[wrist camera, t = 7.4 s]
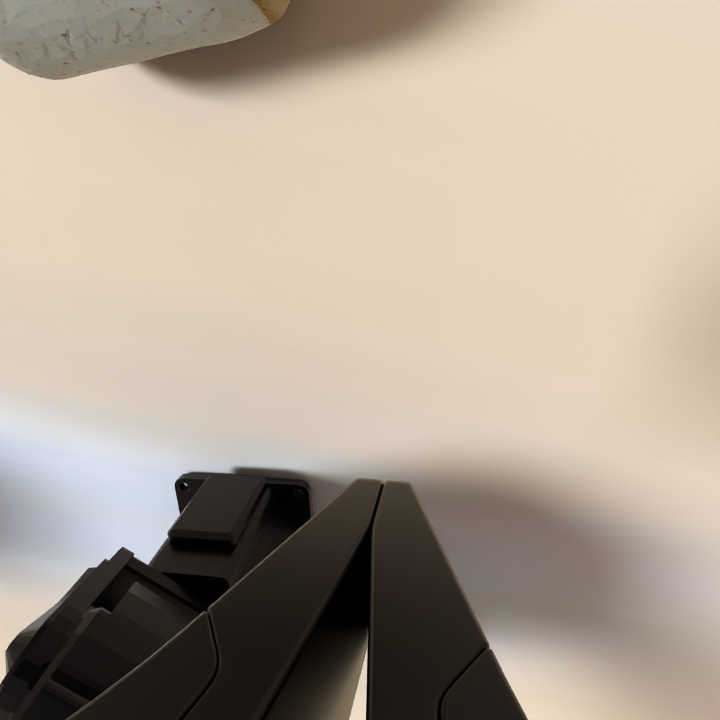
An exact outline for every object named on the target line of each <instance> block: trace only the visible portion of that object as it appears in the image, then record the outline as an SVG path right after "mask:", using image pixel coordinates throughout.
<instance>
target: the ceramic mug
mask: <svg viewBox="0 0 720 720" xmlns="http://www.w3.org/2000/svg"><path fill="white" fill-rule="evenodd" d="M289 3H290V0H0V59H2V60H3V61H5V62H6V63H8V64H10V65H11V66H13V67H15V68H17V69H19V70H21V71H23V72H25V73H27V74H29V75H34V76H38V77H41V78H47V79H52V80H58V79H67V78H71V77H75V76H79V75H83V74H88V73H92V72H96V71H100V70H104V69H109V68H114V67H118V66H123V65H127V64H132V63H137V62H141V61H146V60H150V59H154V58H158V57H161V56H165V55H169V54H172V53H177V52H181V51H186V50H190V49H195V48H199V47H204V46H210V45H215V44H221V43H227V42H230V41H234V40H238V39H241V38H244V37H246V36H248V35H250V34H252V33H255V32H257V31H259V30H261V29H264V28H266V27H268V26H270V25H271V24H273V23H275V22H276V21H278V20H279V19H281V18H282V16H283V14H284V13H285V11H286V9H287V7H288V5H289Z"/></svg>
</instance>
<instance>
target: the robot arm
mask: <svg viewBox="0 0 720 720" xmlns="http://www.w3.org/2000/svg"><path fill="white" fill-rule="evenodd" d="M184 483H186V484H188V485H189V487H187V486H186V485H185V484H184ZM297 489H298V490H301V491H302V492H303V494H300V493H298V492H296V490H297ZM175 490H176V496H177V501H178V506H179V511H180V516H179V517H178V518H177V520H176V521H175V523H174V524H173V525H172V527H171V528H170V529H169V531H168V533H167V534H168V538H167V539H166V540H165V542H164V543H163V545H162V546H161V547H160V549H159V550H158V552H157V553H156V554H155V556H154V557H153V558H152V560H151V561H150V563H149V564H148V565H147V564H145V563H144V562H142V561H140V560H139V559H137V558H135V557H134V555H135V554H134V553H133V552H131V551H129V550H128V549H126V548H124V547H122V548H121V549H120V550H119V551H118V552H117V553H116V554H115V555H114V556H113V557H112V558H111V559H110V560H107V559H104V560H103V561H102V562H101V564H100V565H99V566H98V567H96V568H88V569H87V570H86V572H85V573H84V574H83V575H82V576H81V577H80V579H79V580H78V581H77V582H76V583H75V584H74V585H73V587H72V588H71V589H70V590H69V591H68V592H67V593H66V595H65V596H64V597H63V598H62V599H61V600H60V601H59V602H58V603H57V604H55V605H54V606H53V607H52V608H51V609H49V610H48V611H47V612H45V613H44V614H43V615H42V616H40V617H39V618H38V619H37V620H35V621H34V622H33V623H31V624H30V625H29V626H28V627H26V628H25V629H24V630H23V631H21V632H20V633H19V634H18V635H17V636H16V637H15V639H14V640H13V641H12V642H11V644H10V645H9V647H8V648H7V650H6V652H5V656H6V676H5V678H4V679H3V681H2V683H1V684H0V720H349V717H350V713H351V709H352V705H353V701H354V698H355V694H356V690H357V686H358V682H359V678H360V674H361V670H362V666H363V662H364V658H365V654H366V650H367V646H368V659H367V702H366V720H528V719H527V717H526V715H525V713H524V711H523V709H522V707H521V706H520V704H519V702H518V700H517V698H516V696H515V694H514V692H513V690H512V689H511V687H510V685H509V683H508V681H507V679H506V677H505V675H504V673H503V671H502V669H501V667H500V665H499V663H498V661H497V659H496V657H495V655H494V652H493V651H492V650H491V649H489V643H488V641H487V639H486V637H485V635H484V633H483V631H482V628H481V626H480V624H479V622H478V620H477V618H476V616H475V614H474V612H473V610H472V608H471V606H470V604H469V602H468V600H467V598H466V596H465V593H464V591H463V589H462V587H461V585H460V583H459V581H458V579H457V577H456V575H455V573H454V571H453V569H452V567H451V565H450V563H449V561H448V558H447V556H446V554H445V552H444V550H443V548H442V546H441V544H440V542H439V540H438V538H437V536H436V534H435V532H434V530H433V528H432V526H431V523H430V521H429V519H428V517H427V515H426V513H425V511H424V509H423V507H422V505H421V503H420V501H419V499H418V497H417V495H416V493H415V490H414V488H413V486H412V485H411V484H410V483H408V482H399V481H386V482H385V483H384V484H383V482H382V481H381V480H374V479H363V478H359V479H356V480H355V481H354V482H352V483H351V484H350V485H349V486H348V487H347V488H345V489H344V490H343V491H342V492H341V493H340V494H339V495H337V496H336V497H335V498H334V499H333V500H332V501H330V502H329V503H328V504H327V505H326V506H325V507H324V508H322V509H321V510H320V511H319V512H318V513H317V514H316V515H314V516H313V507H312V495H311V488H310V486H309V484H308V483H307V482H305V481H303V480H293V479H275V478H262V477H259V476H241V475H223V474H211V475H203V474H183V475H181V476H180V477H179V478H178V479H177V481H176V482H175Z"/></svg>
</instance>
